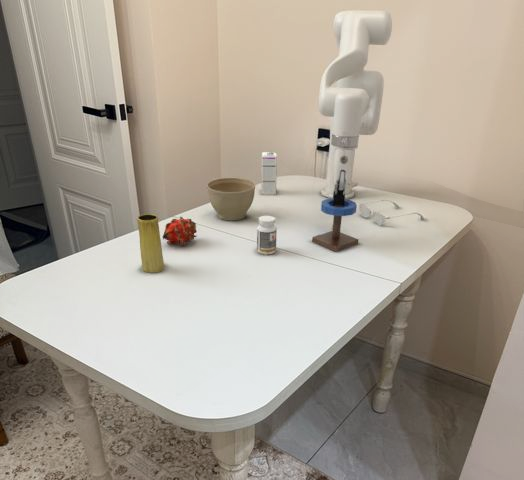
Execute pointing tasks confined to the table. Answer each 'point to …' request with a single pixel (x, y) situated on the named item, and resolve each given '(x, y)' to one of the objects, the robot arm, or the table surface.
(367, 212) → the eyeglasses
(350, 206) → the blue ring
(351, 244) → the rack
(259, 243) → the pill bottle
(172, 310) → the table surface
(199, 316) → the table surface
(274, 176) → the syrup box
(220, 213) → the planter bowl
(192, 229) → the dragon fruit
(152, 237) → the vase
